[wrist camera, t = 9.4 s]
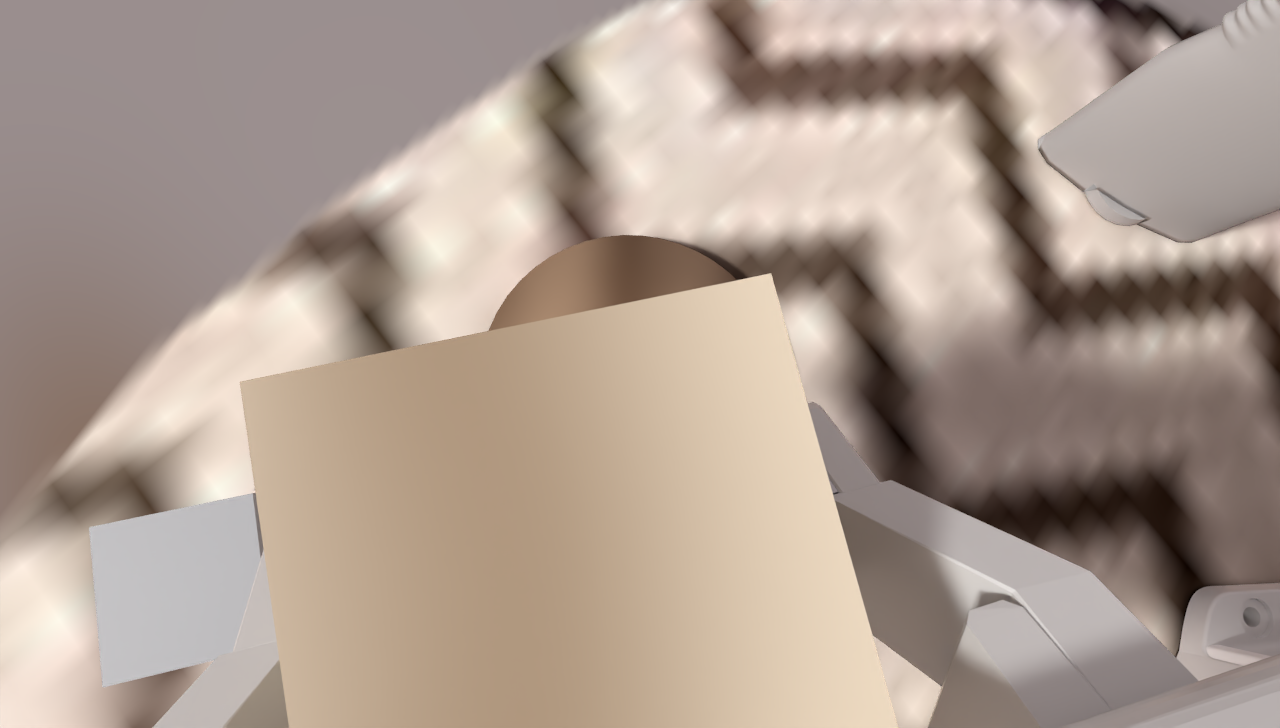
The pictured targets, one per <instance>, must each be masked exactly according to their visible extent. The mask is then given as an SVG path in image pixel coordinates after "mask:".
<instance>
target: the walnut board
mask: <svg viewBox="0 0 1280 728" xmlns="http://www.w3.org/2000/svg"><path fill="white" fill-rule="evenodd" d="M732 281H737V280H736V279H735V278H734V277H733V276H732V275H731V274H730V273H729V272H728V271H726V270H725V269H724V268H722V267H721V266H720V265H718V264H717V263H716V262H714V261H713V260H711V259H709V258H708V257H706V256H704V255H702V254H701V253H699V252H697V251H695V250H693V249H690V248H688V247H686V246H683V245H681V244H678V243H675V242H671V241H667V240H664V239H660V238H653V237H647V236H633V235H620V236H610V237H602V238H598V239H593V240H589V241H585V242H582V243H579V244H577V245H574V246H571V247H569V248H566V249H564V250H562V251H561V252H559V253H557V254H555V255H553V256H551V257H549V258H548V259H546V260H545V261H544V262H542V263H541V264H539V265H538V266H536V267H535V268H534V269H533V270H532V271H530V272H529V273H528V274H527V275H526V276H525V277H524V278H523V279H522V280H521V281H520V282H519V283H518V284H517V285H516V286H515V288H514V289H513V290H512V291H511V292H510V294H509V295H508V296H507V298H506V299H505V301H504V302H503V304H502V305H501V307H500V309H499V310H498V312H497V314H496V316H495V318H494V320H493V322H492V324H491V327H490V329H489V331H491V330H496V329H501V328H506V327H511V326H516V325H521V324H526V323H531V322H536V321H540V320H545V319H550V318H555V317H560V316H565V315H570V314H575V313H580V312H585V311H589V310H594V309H599V308H604V307H609V306H614V305H619V304H624V303H629V302H634V301H639V300H643V299H648V298H653V297H658V296H663V295H668V294H673V293H678V292H683V291H688V290H692V289H697V288H702V287H707V286H712V285H717V284H722V283H727V282H732Z"/></svg>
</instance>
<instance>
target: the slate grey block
mask: <svg viewBox="0 0 1280 728" xmlns="http://www.w3.org/2000/svg"><path fill="white" fill-rule="evenodd" d="M89 532H90V543H91V555H92V567H93V579H94V591H95V603H96V614H97V626H98V638H99V650H100V662H101V674H102V685H103V687H106V686H111V685H115V684H119V683H123V682H127V681H131V680H135V679H139V678H143V677H147V676H152V675H156V674H160V673H164V672H168V671H172V670H176V669H180V668H184V667H188V666H193V665H197V664H201V663H205V662H209V661H213V660H215V659H216V658H217V657H218V656H220V655H223V654H227V653H230V652H233V649H234V646H235V642H236V639H237V636H238V632H239V629H240V626H241V623H242V619H243V616H244V613H245V609H246V606H247V603H248V599H249V596H250V593H251V589H252V586H253V583H254V580H255V576H256V573H257V570H258V566H259V563H260V560H261V556H262V553H263V550H264V548H263V541H262V534H261V527H260V520H259V513H258V506H257V499H256V493H252V494H247V495H243V496H238V497H233V498H228V499H223V500H218V501H214V502H209V503H204V504H199V505H194V506H190V507H185V508H180V509H175V510H170V511H166V512H161V513H156V514H151V515H146V516H142V517H137V518H132V519H127V520H122V521H117V522H113V523H108V524H103V525H98V526H93V527H89Z"/></svg>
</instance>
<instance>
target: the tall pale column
mask: <svg viewBox="0 0 1280 728" xmlns="http://www.w3.org/2000/svg"><path fill="white" fill-rule="evenodd" d="M1038 149H1039V151H1040V153H1041V154H1042V156H1043V158H1044V159H1045V161H1046V162H1047V163H1048V164H1049V165H1050V166H1051V167H1053V168H1054V169H1055V170H1056V171H1058V172H1059V173H1060V174H1061V175H1063V176H1064V177H1065V178H1066V179H1068V180H1069V181H1070V182H1072V183H1073V184H1074V185H1075V186H1077V187H1078V188H1079V189H1080V190H1082V191H1083V192H1084V191H1085V194H1086V196H1087V199H1088V201H1089V203H1090V204H1091V205H1092V207H1093V208H1094V210H1095V211H1096V212H1097V213H1098V214H1100V215H1101V216H1102V217H1103V218H1105V219H1106V220H1108V221H1110V222H1113V223H1115V224H1118V225H1127V226H1129V225H1133V224H1137V225H1140V226H1142V227H1144V228H1146V229H1149V230H1151V231H1153V232H1155V233H1158V234H1160V235H1162V236H1164V237H1167V238H1169V239H1171V240H1174V241H1176V242H1194V241H1197V240H1199V239H1202V238H1205V237H1207V236H1210V235H1213V234H1215V233H1218V232H1220V231H1223V230H1226V229H1228V228H1231V227H1234V226H1236V225H1239V224H1242V223H1244V222H1247V221H1250V220H1253V219H1255V218H1258V217H1261V216H1264V215H1266V214H1269V213H1272V212H1274V211H1277V210H1279V209H1280V0H1247V2H1245V3H1242V4H1240V5H1239V6H1238V8H1237V10H1236V11H1231V12H1229V13H1227V14H1226V15H1225V16H1224V17H1223V21H1222V24H1220V25H1218V26H1216V27H1213V28H1211V29H1209V30H1206V31H1204V32H1202V33H1200V34H1197V35H1195V36H1193V37H1190V38H1188V39H1186V40H1183V41H1181V42H1179V43H1177V44H1174V45H1172V46H1170V47H1168V48H1167V49H1165V50H1163V51H1162V52H1160V53H1159V54H1158V55H1156V56H1155V57H1153V58H1152V59H1151V60H1149V61H1148V62H1146V63H1145V64H1144V65H1142V66H1141V67H1139V68H1138V69H1137V70H1135V71H1134V72H1132V73H1131V74H1130V75H1128V76H1127V77H1125V78H1124V79H1123V80H1121V81H1120V82H1118V83H1117V84H1116V85H1114V86H1113V87H1111V88H1110V89H1109V90H1107V91H1106V92H1104V93H1103V94H1101V95H1100V96H1099V97H1097V98H1096V99H1094V100H1093V101H1092V102H1090V103H1089V104H1088V105H1086V106H1085V107H1083V108H1082V109H1081V110H1079V111H1078V112H1077V113H1075V114H1074V115H1073V116H1071V117H1070V118H1068V119H1067V120H1065V121H1064V122H1063V123H1061V124H1060V125H1058V126H1057V127H1055V128H1054V129H1053V130H1051V131H1050V132H1048V133H1046V134H1045V135H1044V136H1042V137H1041V138H1040V139H1038Z"/></svg>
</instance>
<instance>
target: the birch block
mask: <svg viewBox="0 0 1280 728" xmlns="http://www.w3.org/2000/svg"><path fill="white" fill-rule="evenodd" d="M240 387H241V394H242V401H243V408H244V415H245V422H246V429H247V436H248V443H249V450H250V457H251V464H252V471H253V478H254V485H255V492H256V499H257V506H258V513H259V520H260V527H261V534H262V541H263V548H264V555H265V562H266V569H267V576H268V583H269V590H270V597H271V605H272V612H273V619H274V626H275V633H276V640H277V647H278V654H279V661H280V668H281V675H282V682H283V689H284V696H285V703H286V710H287V717H288V724H289V728H898V724H897V721H896V717H895V714H894V710H893V706H892V703H891V699H890V696H889V692H888V689H887V685H886V682H885V678H884V674H883V671H882V667H881V664H880V660H879V657H878V653H877V649H876V646H875V642H874V639H873V635H872V632H871V628H870V624H869V621H868V617H867V614H866V610H865V607H864V603H863V600H862V596H861V592H860V589H859V585H858V582H857V578H856V575H855V571H854V567H853V564H852V560H851V557H850V553H849V550H848V546H847V543H846V539H845V535H844V532H843V528H842V525H841V521H840V518H839V514H838V510H837V507H836V503H835V500H834V496H833V493H832V489H831V486H830V482H829V478H828V475H827V471H826V468H825V464H824V461H823V457H822V453H821V450H820V446H819V443H818V439H817V436H816V432H815V429H814V425H813V421H812V418H811V414H810V411H809V407H808V404H807V400H806V396H805V393H804V389H803V386H802V382H801V379H800V375H799V372H798V368H797V364H796V361H795V357H794V354H793V350H792V347H791V343H790V339H789V336H788V332H787V329H786V325H785V322H784V318H783V314H782V311H781V307H780V304H779V300H778V297H777V293H776V290H775V286H774V282H773V279H772V275H771V274H766V275H761V276H756V277H751V278H746V279H741V280H737V281H732V282H727V283H722V284H717V285H712V286H707V287H702V288H697V289H692V290H688V291H683V292H678V293H673V294H668V295H663V296H658V297H653V298H648V299H643V300H639V301H634V302H629V303H624V304H619V305H614V306H609V307H604V308H599V309H594V310H589V311H585V312H580V313H575V314H570V315H565V316H560V317H555V318H550V319H545V320H540V321H536V322H531V323H526V324H521V325H516V326H511V327H506V328H501V329H496V330H491V331H487V332H482V333H477V334H472V335H467V336H462V337H457V338H452V339H447V340H442V341H438V342H433V343H428V344H423V345H418V346H413V347H408V348H403V349H398V350H393V351H389V352H384V353H379V354H374V355H369V356H364V357H359V358H354V359H349V360H344V361H340V362H335V363H330V364H325V365H320V366H315V367H310V368H305V369H300V370H295V371H291V372H286V373H281V374H276V375H271V376H266V377H261V378H256V379H251V380H246V381H242V382H240Z"/></svg>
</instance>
